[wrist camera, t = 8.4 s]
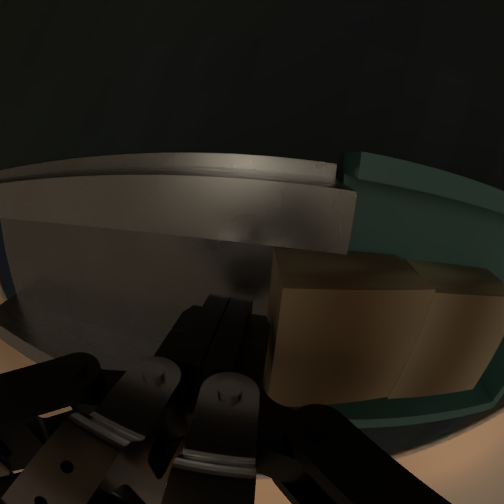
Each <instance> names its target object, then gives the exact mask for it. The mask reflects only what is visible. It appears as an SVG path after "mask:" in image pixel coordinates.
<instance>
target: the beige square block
mask: <svg viewBox="0 0 504 504" xmlns="http://www.w3.org/2000/svg"><path fill="white" fill-rule="evenodd" d="M435 290H436V289H435V288H434V287H432V286H431V285H430V284H429V283H428V282H427V281H426V280H425V279H424V278H422V277H421V276H420V275H419V274H418V273H417V272H416V271H414V270H413V269H412V268H411V267H410V266H409V265H407V264H406V263H405V262H404V261H403V260H401V259H400V258H399V257H398V256H397V255H391V254H373V253H355V252H347V255H344V254H335V253H327V252H319V251H310V250H299V249H280V248H274V249H273V261H272V272H271V282H270V293H269V303H268V313H267V319H268V321H269V323H270V325H271V326H270V334H269V341H268V348H267V355H266V362H265V368H264V378H265V392H266V394H267V395H268V396H269V397H270V398H271V399H272V400H273V401H275V402H277V403H278V404H281V405H283V406H286V407H295V406H305V405H309V404H323V405H328V404H339V403H348V402H356V401H364V400H371V399H377V398H383V397H388V396H389V394H390V392H391V391H392V389H393V387H394V385H395V383H396V381H397V379H398V378H399V376H400V374H401V372H402V370H403V368H404V366H405V364H406V362H407V360H408V357H409V355H410V353H411V351H412V349H413V347H414V344H415V342H416V340H417V337H418V335H419V333H420V330H421V328H422V325H423V323H424V320H425V318H426V315H427V313H428V310H429V307H430V304H431V302H432V299H433V296H434V293H435Z"/></svg>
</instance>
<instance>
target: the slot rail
mask: <svg viewBox="0 0 504 504" xmlns="http://www.w3.org/2000/svg"><path fill="white" fill-rule="evenodd" d="M336 167H337V164H334V163H327V162H320V161H312V160H303V159H294V158H285V157H274V156H261V155H247V154H228V153H190V152H172V153H135V154H117V155H103V156H92V157H82V158H73V159H64V160H57V161H50V162H43V163H37V164H31V165H25V166H19V167H14V168H9V169H4V170H0V220H1V227H2V233H3V239H4V244H5V249H6V254H7V259H8V263H9V267H10V272H11V275H12V279H13V283H14V286H15V290H16V293H17V294H15V295H14V296H12V297H11V298H10V299H8V300H7V301H5V302H4V303H2V304H1V305H0V339H2V340H3V341H4V342H6V343H7V344H8V345H10V346H11V347H13V348H14V349H16V350H17V351H19V352H20V353H22V354H23V355H25V356H26V357H28V358H29V359H31V360H33V361H34V362H36V363H37V364H38V363H41V362H45V361H48V360H51V359H55V358H58V357H61V356H65V355H68V354H71V353H76V352H84V353H89V354H91V355H93V356H95V357H96V358H97V360H98V361H99V363H100V366H101V369H105V370H120V371H127V370H128V369H129V368H130V367H131V366H132V365H133V364H134V363H135V362H136V361H138V360H140V359H143V358H146V357H153V356H154V355H155V353H156V351H157V350H158V348H159V347H160V345H161V344H162V342H163V341H164V339H165V338H166V336H167V335H168V333H169V332H170V330H172V327H173V325H174V324H175V322H177V319H178V318H179V316H180V315H181V313H182V312H183V311H185V310H186V309H188V308H189V307H191V306H193V305H197V306H203V304H204V302H205V301H206V299H207V297H208V296H209V294H216V295H223V296H230V297H237V298H245V299H252V300H253V308H252V314H256V315H264V316H266V317H267V313H268V303H269V293H270V282H271V272H272V261H273V249H274V248H280V249H299V250H310V251H319V252H327V253H335V254H344V255H347V252H348V247H349V241H350V236H351V230H352V224H353V218H354V211H355V204H356V197H357V191H355V190H354V189H352V188H350V187H349V186H347V185H345V184H344V183H342V182H341V181H339V180H337V179H336V178H335V176H336ZM262 384H263V388H264V391H265V378H264V375H263V381H262ZM288 408H291V409H294V410H296V409H298V408H300V406H295V407H288Z"/></svg>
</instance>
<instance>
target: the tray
mask: <svg viewBox="0 0 504 504" xmlns="http://www.w3.org/2000/svg"><path fill="white" fill-rule="evenodd" d="M341 182H342V183H344V184H345V185H347V186H349V187H350V188H352V189H354V190H355V191H357V197H356V204H355V211H354V218H353V224H352V230H351V236H350V241H349V247H348V252H355V253H373V254H391V255H397V256H398V257H399V258H400V259H401V260H403V261H404V260H405V258H406V259H414V260H423V261H431V262H439V263H447V264H455V265H463V266H471V267H479V268H486V269H488V270H489V271H490V272H492V273H493V274H494V275H495V276H496V277H498V278H499V279H500V280H501V281H502V282H504V191H502V190H500V189H497V188H494V187H492V186H489V185H486V184H483V183H481V182H478V181H475V180H472V179H469V178H466V177H463V176H460V175H457V174H453V173H450V172H447V171H443V170H440V169H436V168H433V167H429V166H425V165H421V164H417V163H413V162H409V161H405V160H401V159H396V158H392V157H387V156H382V155H377V154H372V153H367V152H362V151H361V152H344V161H343V170H342V179H341ZM503 394H504V336H503V338H502V340H501V342H500V344H499V346H498V348H497V350H496V352H495V354H494V355H493V357H492V359H491V361H490V362H489V364H488V366H487V367H486V369H485V371H484V372H483V374H482V376H481V377H480V379H479V380H478V382H477V383H476V385H475V386H474V388H473V389H471V390H465V391H459V392H453V393H446V394H438V395H430V396H421V397H409V398H394V399H387V397H383V398H377V399H371V400H364V401H356V402H348V403H339V404H328V405H327V406H330V407H333V408H335V409H336V410H338V411H339V412H340V413H342V414H343V415H344V416H345V417H346V418H347V419H348V420H349V421H350V422H352V423H353V424H354V425H355V426H356V427H357V428H375V427H391V426H402V425H412V424H420V423H427V422H433V421H439V420H445V419H450V418H455V417H460V416H465V415H469V414H473V413H477V412H481V411H485V410H489V409H492V408H493V407H494V406H495V405H496V403H497V402H498V401H499V399H500V398H501V397H502V395H503ZM300 407H302V406H300Z"/></svg>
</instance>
